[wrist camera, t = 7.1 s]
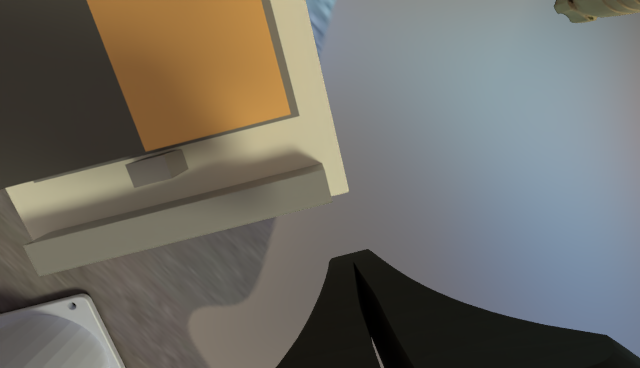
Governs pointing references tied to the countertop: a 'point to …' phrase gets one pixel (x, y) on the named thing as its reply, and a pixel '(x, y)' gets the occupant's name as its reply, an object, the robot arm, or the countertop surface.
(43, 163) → the breaker rocker
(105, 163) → the switch housing
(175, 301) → the countertop surface
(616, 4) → the handle
